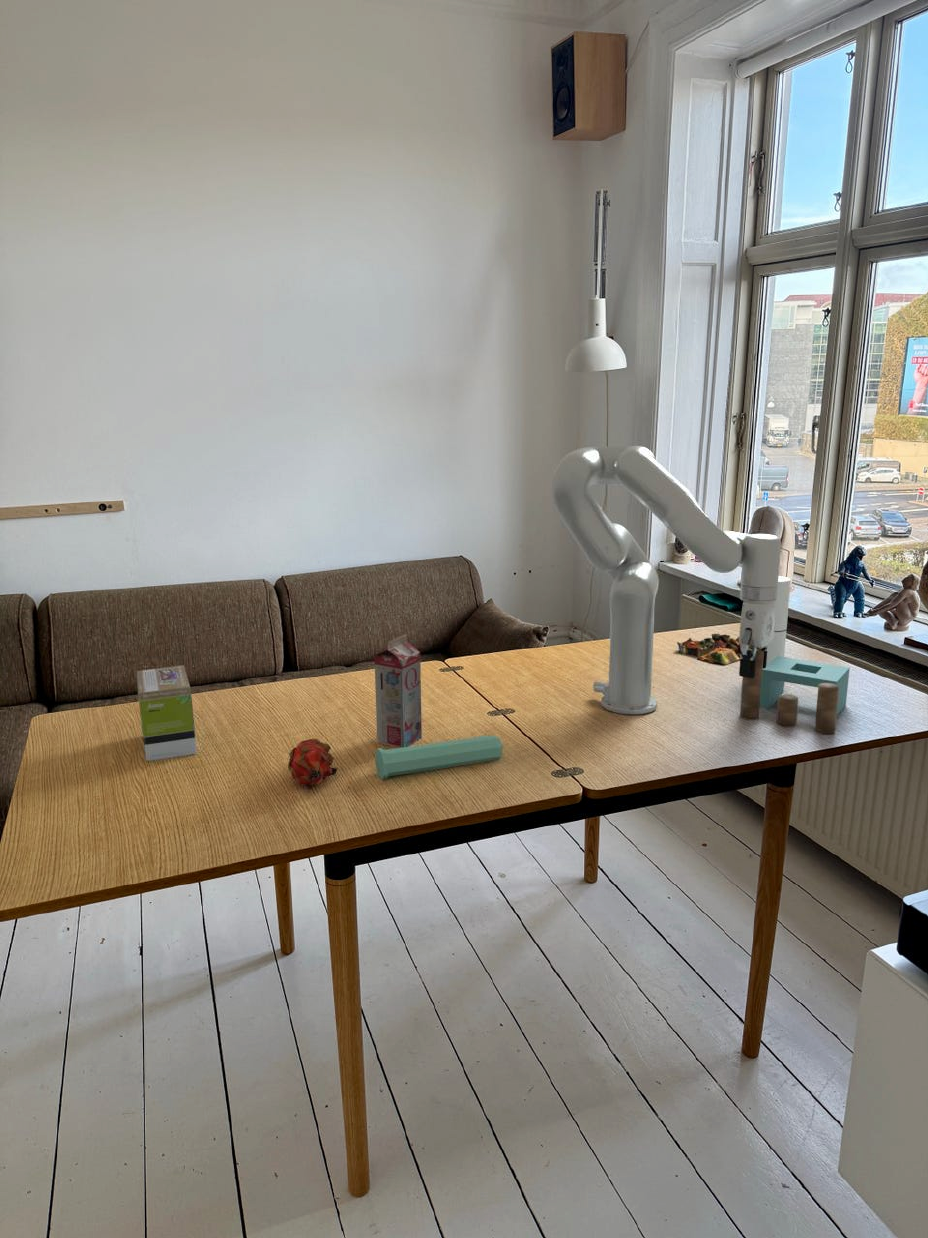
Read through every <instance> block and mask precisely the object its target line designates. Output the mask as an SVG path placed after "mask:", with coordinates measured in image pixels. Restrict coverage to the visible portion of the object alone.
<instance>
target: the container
mask: <svg viewBox="0 0 928 1238" xmlns="http://www.w3.org/2000/svg"><path fill="white" fill-rule="evenodd" d="M502 743H503V742H502V740H501V739H500V738H499V737H498V736H496V735H493V734H489V735H482V736H475V737H468V738H467V737H466V738H461V739H453V740H447V741H441V742H440V741H439V742H432V743H431V742H430V743H425V744H419V745H409V746H408V747H403V748H399V747H395V748H390V749H383V748H382V747H378V748H377V749H376V751H375V754H374V759H375V763H374V764H375V768H376V773H377V775H378V777H379V778H380V780H386V779H387V778H388V777H394V776H395V777H396V776H400V775H407V774H414V773H420V772H427V771H435V770H440V769H441V770H442V769H447V768H452V767H457V766H459V767H460V766H465V765H471V764H477V763H484V762H485V763H486V762H490V761H491V762H492V761H495V760H498V759H499V758H501V757H502V755H503V748H504V747H503V744H502Z"/></svg>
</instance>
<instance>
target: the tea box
mask: <svg viewBox="0 0 928 1238" xmlns="http://www.w3.org/2000/svg"><path fill="white" fill-rule="evenodd" d="M136 684H137V695H138V704H139V705H138V706H139V707H138V708H139V714H140V722H141V723H140V724H141V732H142V739H143V746H144V753H145V754H144V755H145V761H147V762H153V761H158V760H159V761H161V760H166V759H173V758H179V757H186V756H193V755H196V754H198V753H197V752H198V751H197V749H198V748H197V742H196V739H197V738H196V728H195V720H194V718H195V717H194V709H193V707H194V706H193V699H192V691H191V685H190V681H189V679H188V676H187V671H186V668H185V665H183V664H182V665H175V666H166V667H160V668H151V669H143V670H136Z"/></svg>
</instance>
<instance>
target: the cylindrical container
mask: <svg viewBox="0 0 928 1238" xmlns="http://www.w3.org/2000/svg"><path fill="white" fill-rule="evenodd" d="M791 579H792V578H790V577H788V576H782V575H779V577H778V590H777V601H776V602H775V622H774V638H773V640H772V641H771V642H770V643H769V644H768V649H767V650H765V651H767V663H766V666H767V665H768V664H769V663H770V662H771V661H772V660H774V659H775V658H776V657H777V656H780V657H785V651H786V641H787V627H788V617H789V616H788V615H789V606H790V605H789V603H790V593H791V591H790V590H791V581H792V580H791Z"/></svg>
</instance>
